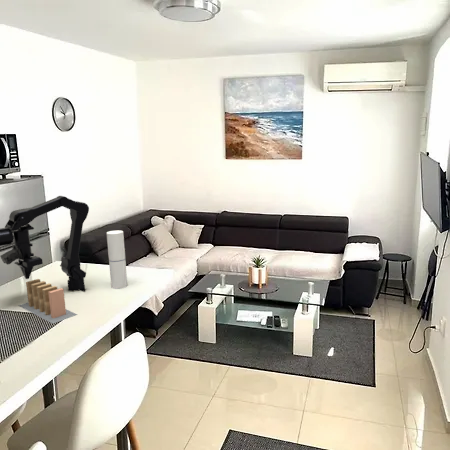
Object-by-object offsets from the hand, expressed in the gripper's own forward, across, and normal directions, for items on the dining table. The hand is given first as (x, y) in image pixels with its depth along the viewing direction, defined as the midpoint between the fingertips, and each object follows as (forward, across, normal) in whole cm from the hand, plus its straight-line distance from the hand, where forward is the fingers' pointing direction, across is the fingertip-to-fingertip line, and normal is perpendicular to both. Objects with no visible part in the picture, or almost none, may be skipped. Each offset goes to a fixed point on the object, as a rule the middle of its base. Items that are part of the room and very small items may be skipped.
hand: (27, 278), depth 178 cm
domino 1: (+10, +6, 0) cm, 11 cm away
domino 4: (+10, +19, 0) cm, 21 cm away
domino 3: (+10, +14, 0) cm, 17 cm away
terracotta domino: (+10, +24, 0) cm, 25 cm away
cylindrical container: (+11, +13, +35) cm, 39 cm away
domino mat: (+10, +14, 0) cm, 18 cm away
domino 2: (+10, +10, 0) cm, 14 cm away
